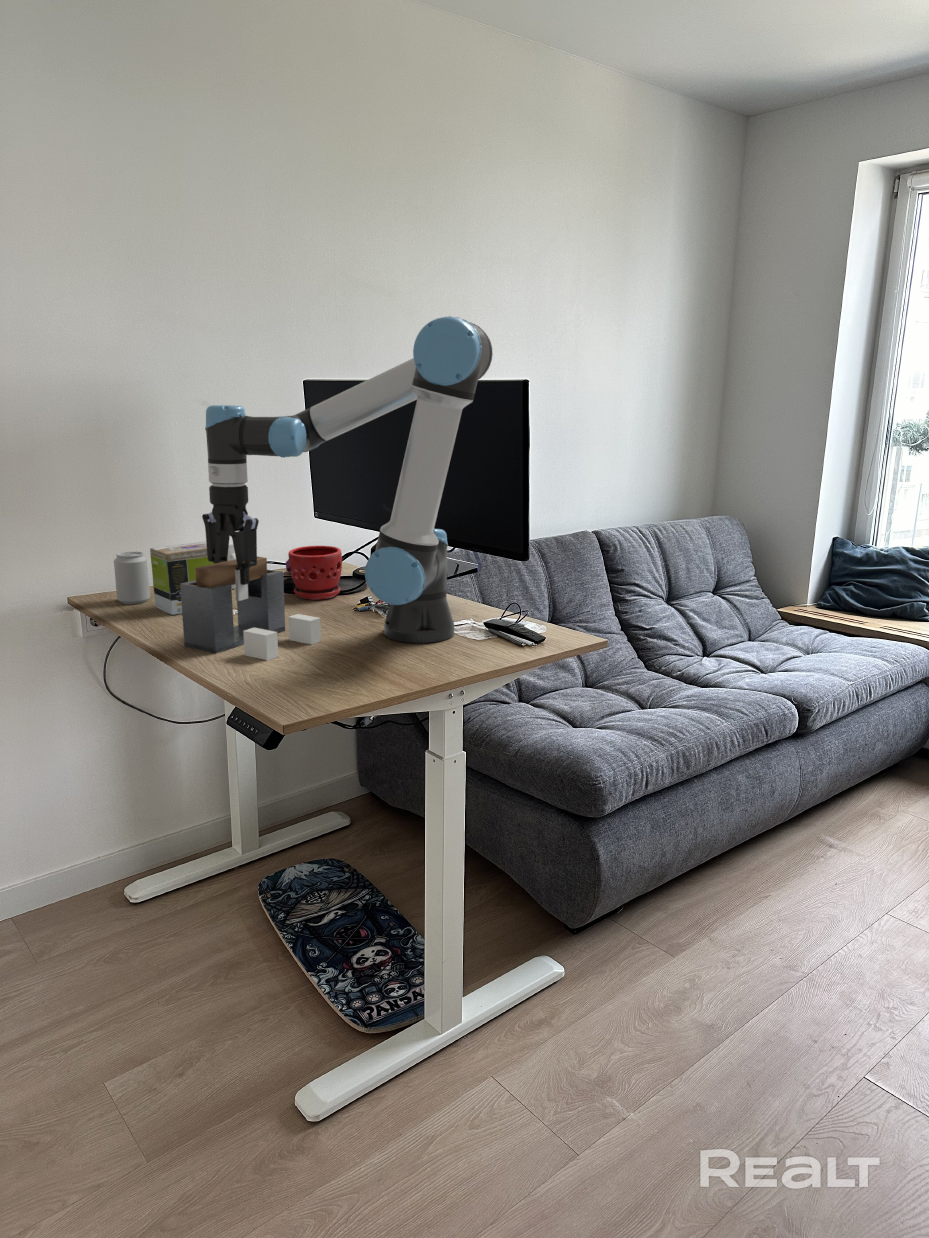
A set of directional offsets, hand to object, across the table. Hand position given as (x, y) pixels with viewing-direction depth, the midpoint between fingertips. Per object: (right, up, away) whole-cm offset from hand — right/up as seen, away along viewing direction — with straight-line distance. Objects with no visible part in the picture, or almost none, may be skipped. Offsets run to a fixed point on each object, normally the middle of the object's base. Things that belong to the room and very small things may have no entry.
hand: (233, 597), depth 180 cm
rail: (0, +3, -1) cm, 3 cm away
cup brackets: (0, -8, +2) cm, 9 cm away
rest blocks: (+11, -10, -4) cm, 16 cm away
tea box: (-17, -2, +28) cm, 32 cm away
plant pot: (+10, +1, +40) cm, 42 cm away
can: (-33, 0, +32) cm, 46 cm away
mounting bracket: (+4, +7, +63) cm, 63 cm away
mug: (-13, +3, +48) cm, 50 cm away
